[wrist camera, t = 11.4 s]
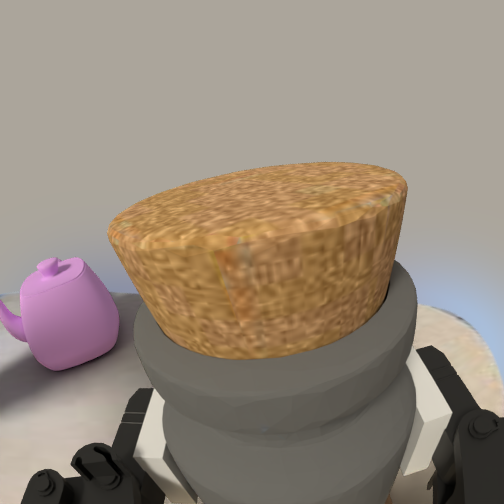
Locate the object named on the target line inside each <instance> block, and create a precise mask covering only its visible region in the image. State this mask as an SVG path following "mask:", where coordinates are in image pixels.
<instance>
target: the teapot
mask: <svg viewBox="0 0 504 504" xmlns="http://www.w3.org/2000/svg"><path fill="white" fill-rule="evenodd" d="M37 268H38V271H36V272H34V273H32V274H31V275H30V276H28V277H27V278H26V280H25V281H24V283H23V284H22V286H21V290H20V306H21V317H19V316H16V315H14V314H12V313H11V312H10V311H9V310H8V309H7V308H6V306H5V305H4V304H3V302H2V301H1V300H0V320H1V322H2V323H3V325H4V326H5V328H6V329H7V331H8V332H9V333H10V334H11V335H12V336H13V337H15V338H16V339H18V340H20V341H23V342H28V344H29V347H30V349H31V351H32V353H33V355H34V357H35V358H36V360H37V361H38V362H39V363H41V364H42V365H43V366H45V367H47V368H49V369H51V370H53V371H59V370H64V369H67V368H71V367H74V366H77V365H79V364H82V363H85V362H87V361H89V360H92V359H94V358H96V357H99V356H101V355H102V354H104V353H106V352H108V351H109V350H111V349H112V348H113V346H114V345H115V343H116V341H117V336H118V330H119V313H118V309H117V307H116V305H115V303H114V301H113V299H112V297H111V295H110V293H109V292H108V290H107V288H106V287H105V285H104V284H103V283H102V281H101V280H100V279H99V278H98V277H97V275H96V274H95V273H94V272H93V271H92V270H91V268H90V267H89V266H88V265H87V264H86V263H85V262H84V261H83V260H82V259H80V258H77V257H75V258H70V259H67V260H64V261H61V260H60V259H58V258H55V257H53V258H49V259H46V260H44V261H42V262H40V263H39V264H38V265H37Z"/></svg>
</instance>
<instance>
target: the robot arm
mask: <svg viewBox="0 0 504 504" xmlns="http://www.w3.org/2000/svg"><path fill="white" fill-rule="evenodd" d="M406 364H407V366H408V368H409V370H410V372H411V375H412V378H413V381H414V385H415V388H416V412H415V417H414V423H413V427H412V431H411V434H410V438H409V441H408V444H407V447H406V450H405V453H404V456H403V459H402V462H401V465H400V468H401V471H402V474H403V476H406V475H409V474H412V473H415V472H418V471H421V470H424V469H427V468H428V466H429V464H430V462H431V460H433V463H434V465H435V467H436V470H435V472H434V474H433V476H432V477H431V479H430V481H429V482H428V485H427V490H430V489H431V487H432V485H433V504H504V417H500V418H499V417H498V416H497V415H496V414H495V413H493V412H491V411H488V410H486V409H481V408H480V407H479V406H478V404H477V403H476V401H475V400H474V398H473V397H472V395H471V393H470V392H469V390H468V389H467V387H466V386H465V384H464V383H463V381H462V380H461V378H460V377H459V375H457V372H456V371H455V369H454V368H453V366H451V363H450V362H449V361H448V359H447V358H446V356H445V355H444V353H442V352H441V351H439V350H438V349H436V348H435V347H433V346H432V345H431V346H427V347H424V348H420V349H416V350H415V349H414V347H413V345H412V348H411V352H410V355H409V357H408V359H407V361H406ZM164 403H165V400H164V399H162V397H161V396H160V395H159V393H158V392H157V391H156V389H155V388H139V389H138V390H137V391H136V393H135V394H134V395H133V396H132V397H131V398H130V399H129V402H128V404H127V407H126V410H125V414H124V415H123V418H122V420H121V424H120V426H119V428H118V431H117V434H116V436H115V439H114V442H113V445H112V448H111V447H110V446H109V445H106V444H104V443H92V444H88V445H85V446H84V447H82V448H81V449H79V450H78V451H77V452H76V454H75V455H74V456H73V459H72V462H71V466H72V467H73V468H74V469H75V470H76V471H77V472H78V473H79V474H80V475H81V476H80V477H71V478H63V477H62V476H61V475H60V474H59V473H58V472H57V471H54V470H52V469H44V470H41V471H38V472H37V473H36V474H34V475H33V476H32V478H31V479H30V481H29V483H28V486H27V488H26V491H25V493H24V496H23V499H22V501H21V504H164V500H165V496H166V497H167V498H168V499H169V500H170V501H171V502H172V503H183V504H197V497H198V495H197V494H196V492H195V491H194V490H193V488H192V487H191V486H190V484H189V483H188V481H187V480H186V479H185V477H184V475H183V474H182V472H181V471H180V469H179V467H178V466H177V464H176V462H175V460H174V458H173V456H172V454H171V453H170V451H169V449H168V446H167V443H166V440H165V437H164V432H163V425H162V415H163V406H164Z"/></svg>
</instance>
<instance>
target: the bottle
mask: <svg viewBox="0 0 504 504" xmlns="http://www.w3.org/2000/svg"><path fill="white" fill-rule="evenodd" d="M407 190H408V187H407V183H406V181H405V180H404V179H403V178H402V176H401V175H399V174H398V173H396V172H395V171H392V170H389V169H385V168H382V167H379V166H374V165H367V164H358V163H345V162H318V163H302V164H288V165H279V166H269V167H262V168H256V169H250V170H244V171H238V172H233V173H229V174H224V175H220V176H216V177H212V178H207V179H203V180H199V181H195V182H191V183H188V184H185V185H182V186H179V187H176V188H173V189H170V190H167V191H164V192H161V193H159V194H156V195H153V196H151V197H149V198H147V199H144V200H142V201H140V202H138V203H135V204H134V205H132V206H131V207H129V208H128V209H126V210H124V211H123V212H121V213H120V214H118V215H117V216H116V218H115V219H114V220H113V221H112V222H111V223H110V224H109V228H108V232H107V234H108V238H109V241H110V243H111V244H112V246H113V248H114V250H115V252H116V254H117V256H118V257H119V259H120V261H121V263H122V265H123V266H124V268H125V270H126V272H127V273H128V275H129V277H130V279H131V280H132V282H133V284H134V285H135V287H136V289H137V291H138V292H139V294H140V296H141V297H142V299H143V300H144V302H143V303H142V304H141V306H140V308H139V310H138V312H137V314H136V318H135V322H134V342H135V348H136V350H137V353H138V355H139V358H140V360H141V362H142V365H143V367H144V369H145V371H146V373H147V375H148V377H149V379H150V381H151V383H152V385H153V387H154V388H155V389H156V391H157V392H158V393H159V395H160V396H161V397H162V399H164V400H165V403H164V406H163V415H162V425H163V432H164V437H165V440H166V443H167V446H168V449H169V451H170V453H171V454H172V456H173V458H174V460H175V462H176V464H177V466H178V467H179V469H180V471H181V472H182V474H183V475H184V477H185V479H186V480H187V481H188V483H189V484H190V486H191V487H192V488H193V490H194V491H195V492H196V494H197V495H198V496H199V498H200V499H201V500H202V502H203V503H204V504H385V502H386V499H387V497H388V495H389V493H390V490H391V488H392V486H393V483H394V481H395V478H396V476H397V473H398V471H399V468H400V465H401V462H402V459H403V456H404V453H405V450H406V447H407V444H408V441H409V438H410V434H411V431H412V427H413V423H414V417H415V412H416V388H415V385H414V381H413V378H412V375H411V372H410V370H409V368H408V366H407V364H406V361H407V359H408V357H409V355H410V352H411V348H412V344H413V340H414V334H415V327H416V318H417V295H416V288H415V286H414V283H413V281H412V279H411V277H410V275H409V273H408V272H407V271H406V270H405V269H404V268H403V267H402V266H401V265H400V263H398V262H397V261H395V260H394V259H395V254H396V249H397V244H398V240H399V235H400V230H401V225H402V220H403V214H404V208H405V202H406V197H407Z"/></svg>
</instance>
